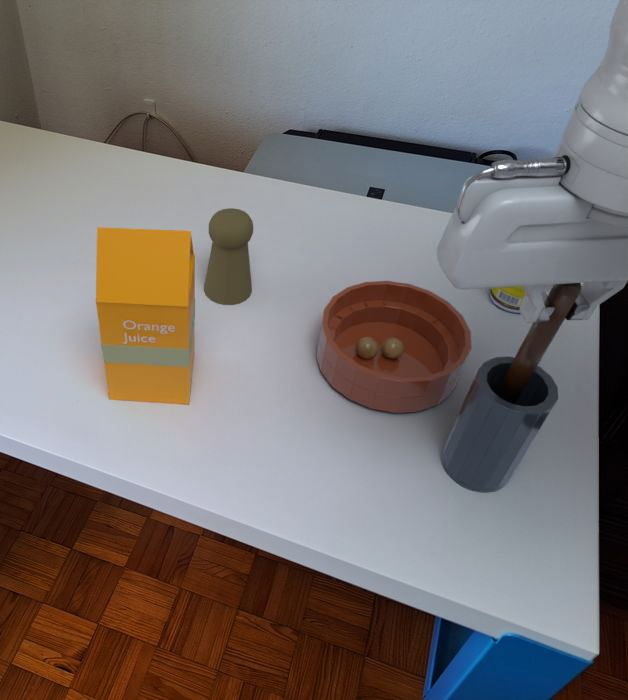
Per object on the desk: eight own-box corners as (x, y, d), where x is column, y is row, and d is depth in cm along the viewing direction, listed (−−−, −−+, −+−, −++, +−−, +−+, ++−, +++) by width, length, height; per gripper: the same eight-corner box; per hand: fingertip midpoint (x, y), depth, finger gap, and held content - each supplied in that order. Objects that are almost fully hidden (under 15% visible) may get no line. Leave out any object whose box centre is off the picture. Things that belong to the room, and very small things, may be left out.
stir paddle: (489, 438, 67) (586, 270, 50) (495, 454, 65) (597, 286, 49) (460, 439, 67) (548, 271, 50) (466, 455, 65) (557, 288, 49)
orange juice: (119, 348, 79) (103, 202, 65) (195, 353, 78) (195, 206, 64) (108, 400, 74) (87, 254, 59) (189, 406, 73) (189, 258, 59)
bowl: (430, 312, 82) (442, 277, 78) (477, 411, 71) (494, 376, 67) (304, 319, 82) (309, 284, 78) (332, 420, 71) (340, 385, 67)
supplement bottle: (529, 285, 85) (561, 216, 77) (542, 316, 81) (577, 246, 73) (482, 283, 85) (510, 215, 78) (493, 314, 81) (523, 245, 74)
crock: (495, 436, 69) (538, 354, 60) (521, 490, 65) (572, 410, 56) (432, 439, 69) (466, 358, 60) (454, 494, 65) (494, 415, 56)
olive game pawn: (217, 267, 89) (220, 195, 81) (260, 282, 87) (266, 209, 79) (195, 295, 85) (195, 222, 77) (238, 311, 83) (243, 237, 75)
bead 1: (379, 343, 77) (385, 350, 74) (363, 358, 77) (369, 365, 75) (364, 329, 76) (370, 336, 74) (348, 345, 77) (354, 351, 75)
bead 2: (399, 332, 74) (389, 332, 77) (382, 346, 74) (373, 346, 77) (412, 349, 75) (401, 349, 77) (395, 363, 74) (385, 362, 77)
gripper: (491, 191, 40) (431, 353, 50) (833, 172, 40) (706, 337, 50) (453, 137, 45) (405, 296, 55) (763, 120, 45) (659, 281, 55)
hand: (552, 316), depth 52 cm, fingers closed on stir paddle, 2 cm apart
